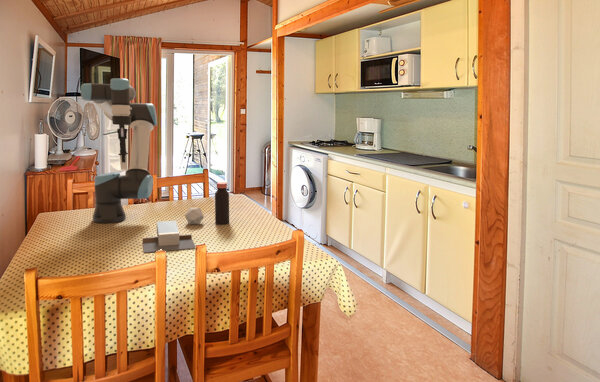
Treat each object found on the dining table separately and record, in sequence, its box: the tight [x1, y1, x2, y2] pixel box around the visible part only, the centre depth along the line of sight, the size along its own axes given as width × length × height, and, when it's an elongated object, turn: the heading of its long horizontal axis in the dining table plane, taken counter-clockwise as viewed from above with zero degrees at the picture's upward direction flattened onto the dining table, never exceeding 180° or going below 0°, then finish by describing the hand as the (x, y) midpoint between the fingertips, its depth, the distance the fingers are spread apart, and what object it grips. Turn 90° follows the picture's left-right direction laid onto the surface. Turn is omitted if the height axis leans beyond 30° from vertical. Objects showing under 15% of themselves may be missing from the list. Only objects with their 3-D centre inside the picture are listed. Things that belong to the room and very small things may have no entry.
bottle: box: [214, 181, 230, 226], centre depth 228 cm, size 7×7×20 cm
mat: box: [142, 239, 196, 254], centre depth 191 cm, size 14×20×1 cm
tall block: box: [156, 220, 180, 246], centre depth 195 cm, size 5×8×12 cm
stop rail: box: [142, 233, 193, 243], centre depth 198 cm, size 1×20×2 cm, turn 111°
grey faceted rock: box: [184, 207, 205, 225], centre depth 227 cm, size 8×9×10 cm
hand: (124, 169), depth 206 cm, fingers closed
